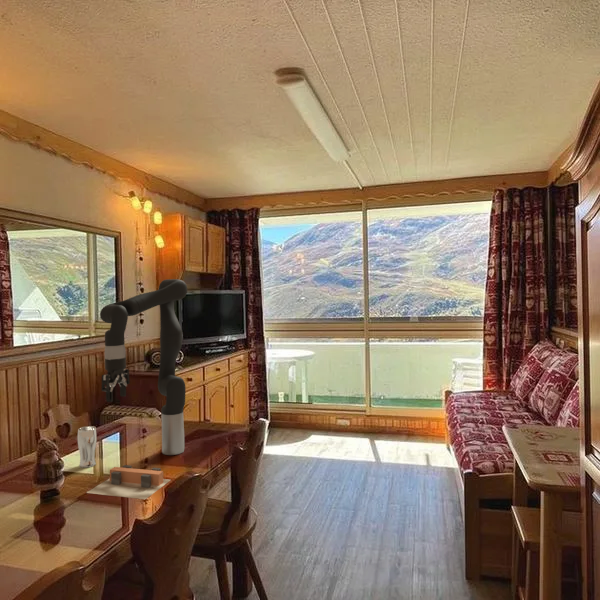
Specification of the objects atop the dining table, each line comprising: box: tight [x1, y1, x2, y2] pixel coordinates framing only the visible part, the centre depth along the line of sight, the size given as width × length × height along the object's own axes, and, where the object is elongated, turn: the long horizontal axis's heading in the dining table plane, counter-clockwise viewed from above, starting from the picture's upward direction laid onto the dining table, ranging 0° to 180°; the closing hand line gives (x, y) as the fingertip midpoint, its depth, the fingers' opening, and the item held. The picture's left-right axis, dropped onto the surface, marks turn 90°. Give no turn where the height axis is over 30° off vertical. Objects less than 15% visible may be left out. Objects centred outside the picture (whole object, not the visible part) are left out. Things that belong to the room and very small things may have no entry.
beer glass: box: [77, 425, 97, 469], centre depth 191 cm, size 7×7×15 cm
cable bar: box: [109, 466, 164, 486], centre depth 171 cm, size 3×20×4 cm, turn 75°
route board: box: [86, 464, 171, 500], centre depth 167 cm, size 17×23×5 cm
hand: (116, 398), depth 181 cm, fingers open, 8 cm apart
